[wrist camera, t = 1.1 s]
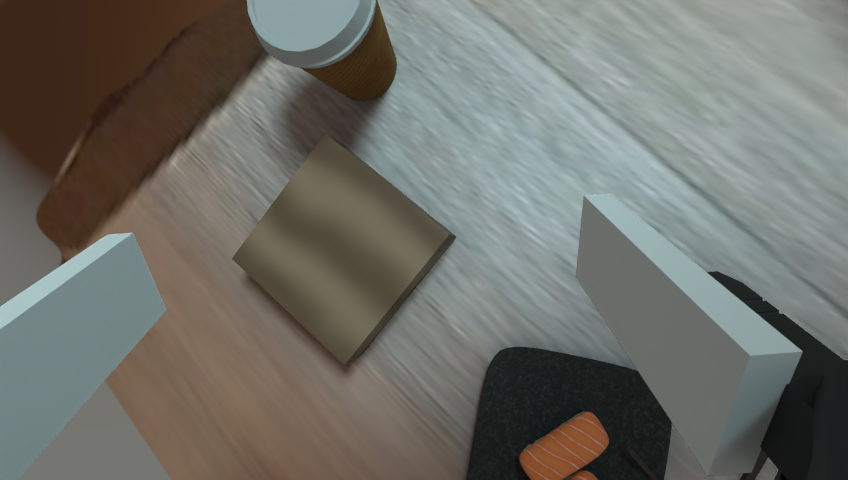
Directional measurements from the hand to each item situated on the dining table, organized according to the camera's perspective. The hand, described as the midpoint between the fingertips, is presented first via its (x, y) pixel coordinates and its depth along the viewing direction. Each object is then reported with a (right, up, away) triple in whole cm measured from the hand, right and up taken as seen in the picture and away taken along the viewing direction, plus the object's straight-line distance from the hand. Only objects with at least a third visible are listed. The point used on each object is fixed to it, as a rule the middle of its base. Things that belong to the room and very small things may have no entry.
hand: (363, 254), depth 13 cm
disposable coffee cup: (-4, +17, +28) cm, 33 cm away
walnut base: (-5, 0, +27) cm, 27 cm away
